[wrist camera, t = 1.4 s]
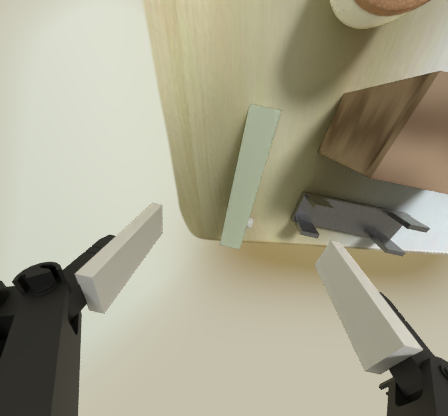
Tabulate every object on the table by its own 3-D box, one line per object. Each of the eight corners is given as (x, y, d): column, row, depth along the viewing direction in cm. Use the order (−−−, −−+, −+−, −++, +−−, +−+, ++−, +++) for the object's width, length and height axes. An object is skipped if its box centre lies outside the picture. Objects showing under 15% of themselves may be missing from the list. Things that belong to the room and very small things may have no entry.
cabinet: (344, 93, 23) (440, 70, 12) (488, 122, 23) (731, 127, 11) (317, 152, 27) (370, 178, 16) (440, 177, 27) (584, 222, 15)
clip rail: (303, 191, 30) (312, 203, 26) (406, 212, 30) (433, 229, 26) (290, 218, 33) (297, 234, 29) (384, 238, 33) (405, 256, 29)
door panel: (248, 108, 25) (250, 104, 16) (275, 114, 25) (294, 112, 16) (227, 209, 34) (219, 245, 24) (247, 213, 34) (247, 250, 24)
